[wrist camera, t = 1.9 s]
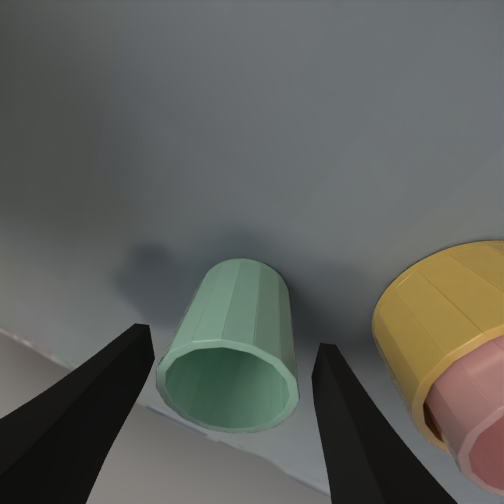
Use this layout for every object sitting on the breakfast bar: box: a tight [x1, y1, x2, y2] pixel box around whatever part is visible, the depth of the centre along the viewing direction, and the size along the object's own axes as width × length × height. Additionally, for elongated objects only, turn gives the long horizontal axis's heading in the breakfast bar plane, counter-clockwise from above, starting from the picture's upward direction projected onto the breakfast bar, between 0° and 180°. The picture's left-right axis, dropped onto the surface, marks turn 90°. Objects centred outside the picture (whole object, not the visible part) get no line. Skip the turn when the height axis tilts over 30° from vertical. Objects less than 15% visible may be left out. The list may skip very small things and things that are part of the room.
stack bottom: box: [372, 240, 504, 454], centre depth 11 cm, size 9×9×4 cm
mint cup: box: [156, 258, 300, 433], centre depth 11 cm, size 5×5×6 cm
